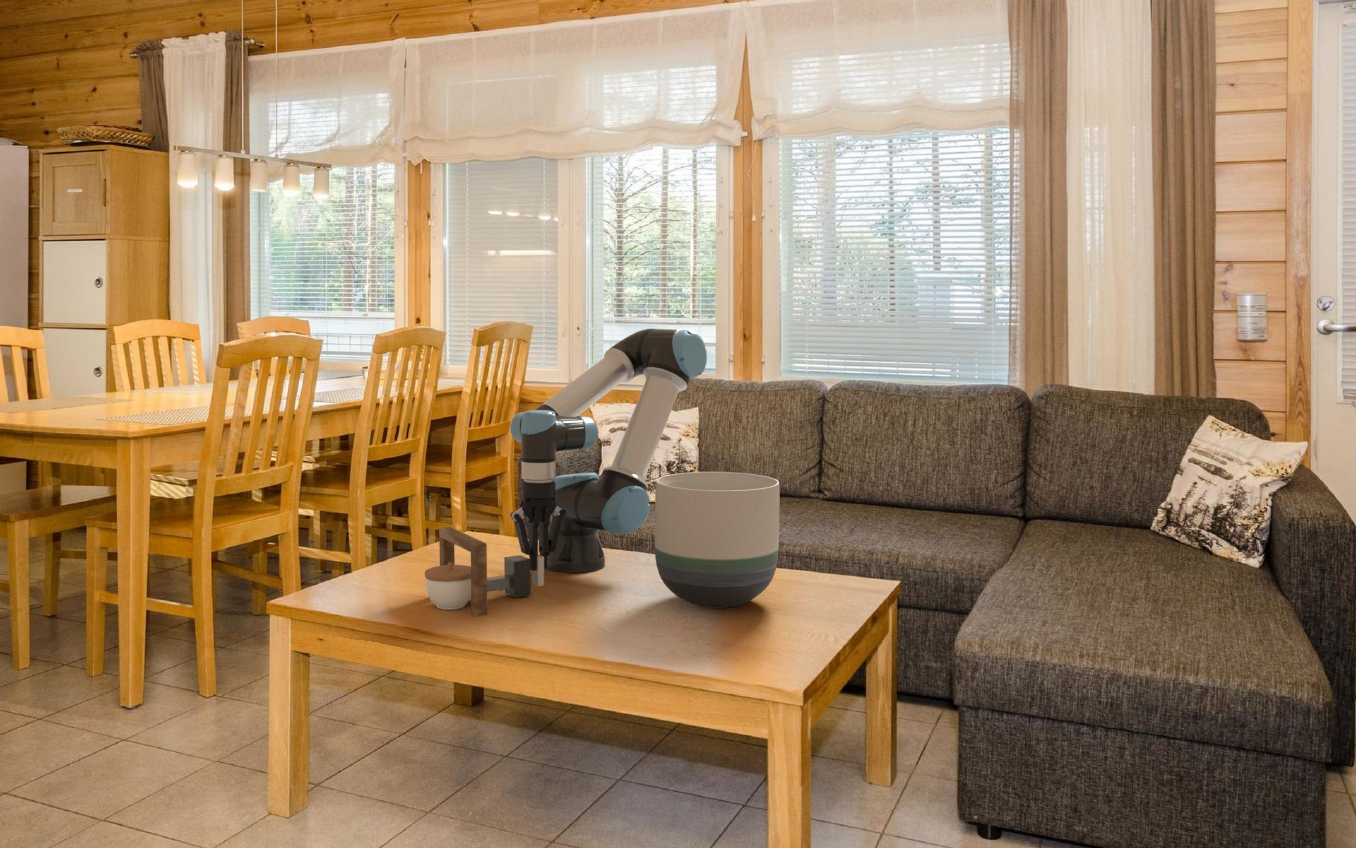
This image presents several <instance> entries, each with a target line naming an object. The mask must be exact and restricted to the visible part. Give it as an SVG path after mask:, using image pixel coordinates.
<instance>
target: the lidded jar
mask: <svg viewBox="0 0 1356 848" xmlns="http://www.w3.org/2000/svg"><path fill="white" fill-rule="evenodd" d="M424 578H425V580H424V581H425V590H426V594H427V596H428V599H429V600H430V601H431V602H432V604H434V605H435V606H436V608H437V609H438V610H439V609H440V610H443V611H444V610H448V611H449V610H451V611H452V610H459V609H463V608H465V607H466V604H467V603H468V602H469V601H471V565H463V564H455V565H453V563H451V562H450V563H448V565H443V566H440V565H436V566H433V567H429V568H427V569H425V571H424Z"/></svg>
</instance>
